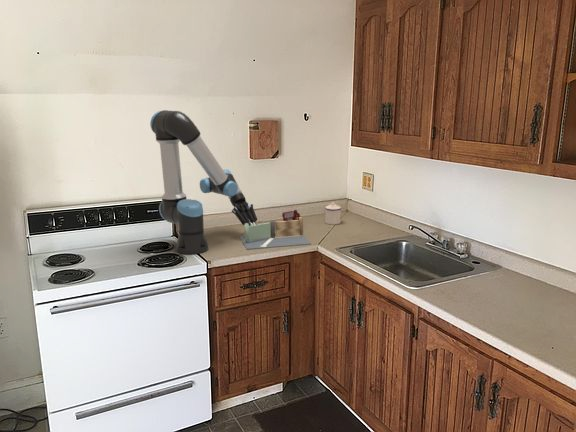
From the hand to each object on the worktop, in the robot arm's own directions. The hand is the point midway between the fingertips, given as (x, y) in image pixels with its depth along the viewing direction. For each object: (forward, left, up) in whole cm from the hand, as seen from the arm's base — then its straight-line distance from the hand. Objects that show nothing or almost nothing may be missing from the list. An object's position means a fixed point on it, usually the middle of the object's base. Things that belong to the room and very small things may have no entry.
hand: (257, 234), depth 254 cm
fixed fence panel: (+16, +1, -3) cm, 16 cm away
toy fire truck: (+22, +15, -3) cm, 27 cm away
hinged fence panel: (0, -2, -2) cm, 3 cm away
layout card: (+8, -3, -3) cm, 9 cm away
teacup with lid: (+47, +23, -3) cm, 52 cm away
